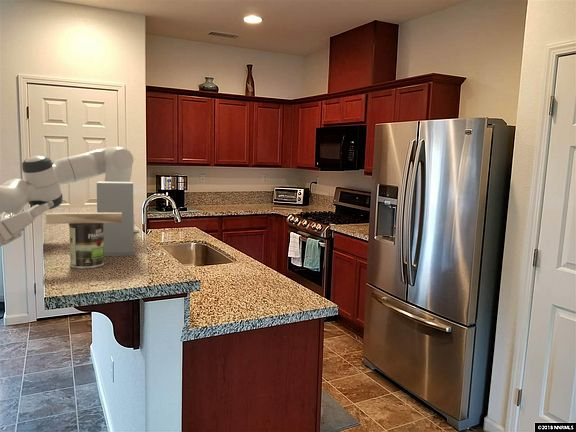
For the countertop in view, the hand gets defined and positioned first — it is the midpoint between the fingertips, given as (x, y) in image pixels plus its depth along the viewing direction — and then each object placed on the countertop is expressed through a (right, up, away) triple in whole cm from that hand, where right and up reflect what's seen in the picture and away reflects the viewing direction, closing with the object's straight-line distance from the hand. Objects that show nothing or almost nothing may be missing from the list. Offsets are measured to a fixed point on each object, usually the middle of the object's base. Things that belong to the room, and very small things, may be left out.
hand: (50, 204), depth 141 cm
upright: (+12, -17, +23) cm, 31 cm away
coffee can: (+9, -20, +5) cm, 23 cm away
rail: (+10, -6, +3) cm, 12 cm away
